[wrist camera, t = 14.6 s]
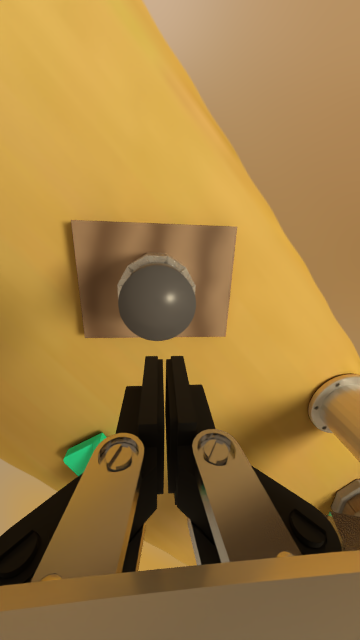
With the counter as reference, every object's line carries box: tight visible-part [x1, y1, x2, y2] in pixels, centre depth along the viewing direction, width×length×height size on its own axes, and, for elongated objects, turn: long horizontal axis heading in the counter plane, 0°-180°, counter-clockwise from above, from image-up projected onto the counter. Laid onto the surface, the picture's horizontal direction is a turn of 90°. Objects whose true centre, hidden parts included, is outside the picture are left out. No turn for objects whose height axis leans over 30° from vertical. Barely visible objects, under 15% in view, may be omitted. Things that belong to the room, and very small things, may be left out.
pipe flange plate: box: [71, 220, 237, 338], centre depth 28 cm, size 20×15×8 cm
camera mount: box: [64, 433, 107, 476], centre depth 37 cm, size 12×8×10 cm, turn 27°
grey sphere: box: [118, 262, 196, 341], centre depth 24 cm, size 7×7×7 cm
